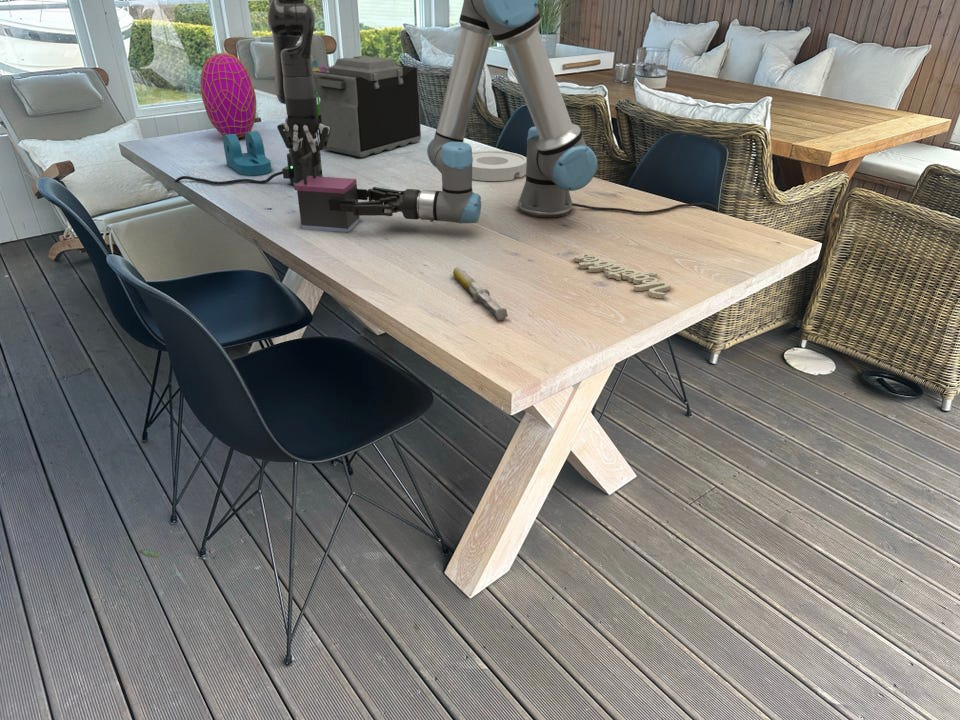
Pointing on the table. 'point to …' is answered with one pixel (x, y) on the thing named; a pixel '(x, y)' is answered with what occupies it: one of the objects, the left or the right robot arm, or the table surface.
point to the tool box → (369, 105)
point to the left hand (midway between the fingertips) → (308, 165)
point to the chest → (326, 211)
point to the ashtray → (497, 165)
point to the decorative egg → (228, 95)
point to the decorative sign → (625, 274)
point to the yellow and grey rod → (479, 293)
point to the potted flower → (322, 69)
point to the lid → (322, 181)
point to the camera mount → (246, 154)
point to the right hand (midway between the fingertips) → (336, 198)
